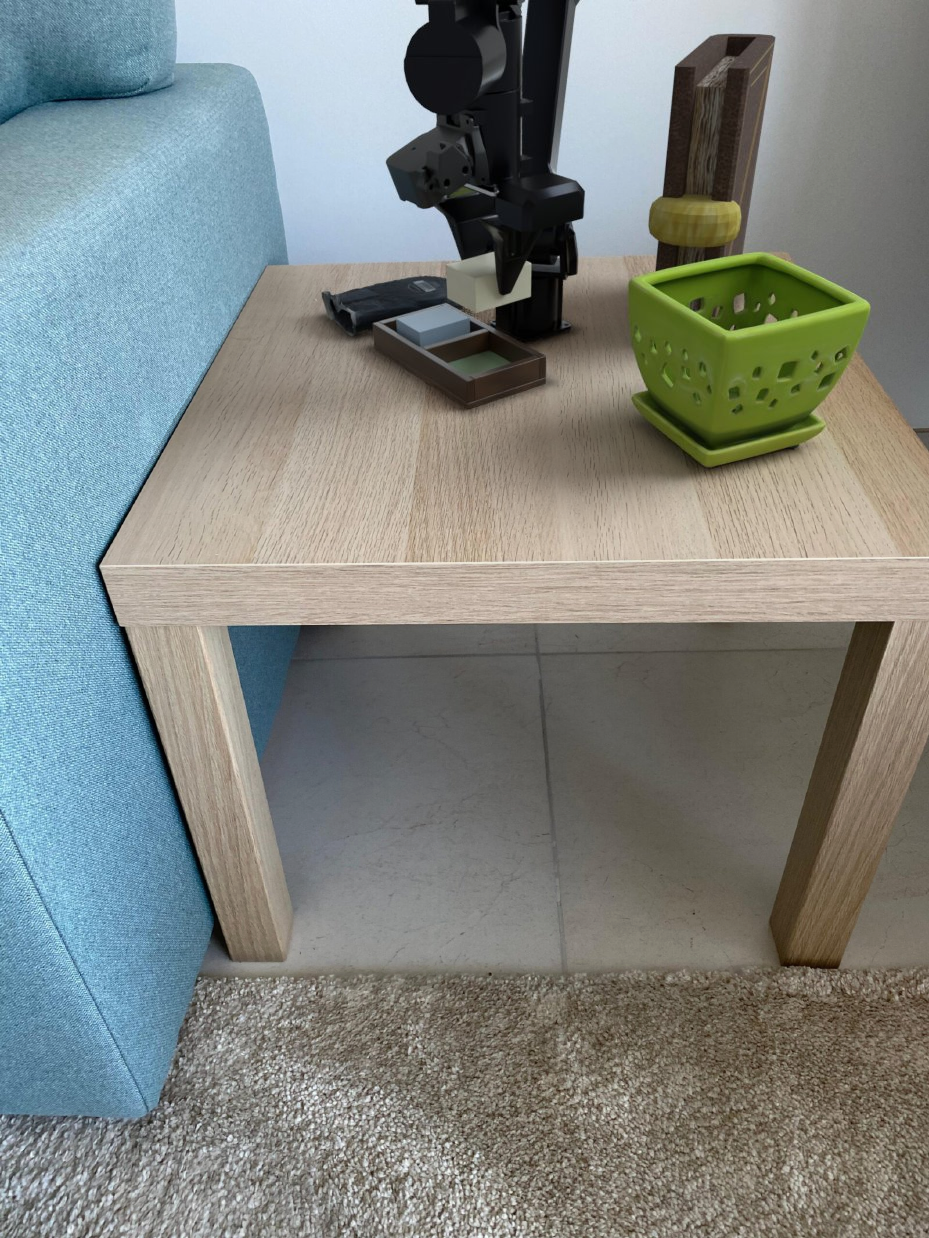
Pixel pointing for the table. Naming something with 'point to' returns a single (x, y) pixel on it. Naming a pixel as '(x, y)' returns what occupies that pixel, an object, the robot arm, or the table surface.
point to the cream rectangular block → (483, 283)
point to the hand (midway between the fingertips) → (488, 286)
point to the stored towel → (433, 326)
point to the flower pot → (740, 353)
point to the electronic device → (385, 301)
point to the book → (712, 151)
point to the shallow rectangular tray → (466, 361)
